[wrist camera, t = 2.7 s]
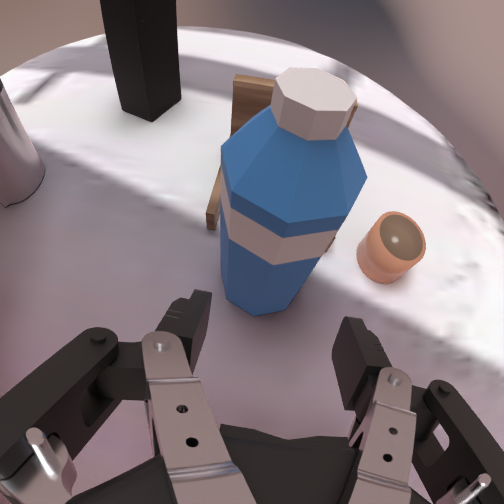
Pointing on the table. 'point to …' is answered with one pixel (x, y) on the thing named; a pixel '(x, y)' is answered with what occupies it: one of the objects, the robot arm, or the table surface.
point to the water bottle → (286, 189)
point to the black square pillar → (143, 54)
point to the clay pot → (391, 248)
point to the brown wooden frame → (243, 109)
